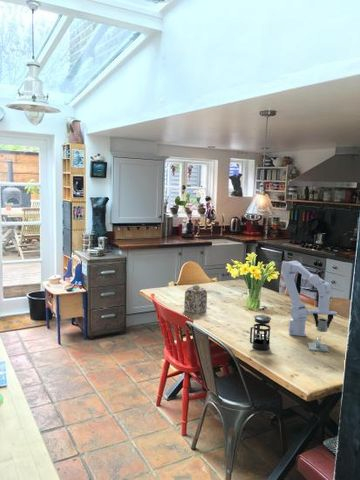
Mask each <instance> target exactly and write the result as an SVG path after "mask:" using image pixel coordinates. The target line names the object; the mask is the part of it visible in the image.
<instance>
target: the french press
mask: <svg viewBox="0 0 360 480" xmlns="http://www.w3.org/2000/svg"><path fill="white" fill-rule="evenodd" d="M258 307H259V308H260V309H261V311H264V310H265V309H267V308H268V307H267V306H265V305H260V306H258ZM253 318H254V322H255V323H254V324H253V326H250V331H249V343H250V344H252V345H251V347H252V348H253V350H256V351H260V352H262V351H263V352H266V351H269V350H270V349H271V346H270V340H271V339H270V335H271V326H270V325H269V324H270V323H271V320H272V317H270V316H268V315H265V314H264V312H262V314H257V315H254V317H253ZM261 327H265V328H261Z"/></svg>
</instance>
